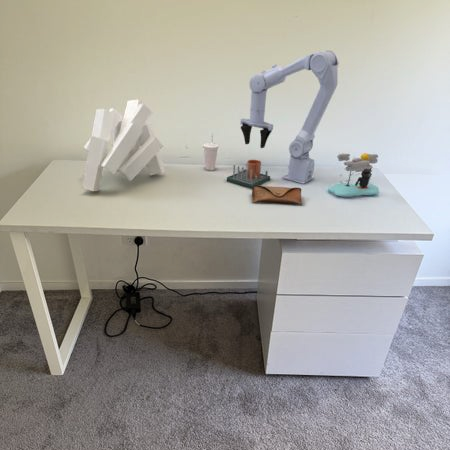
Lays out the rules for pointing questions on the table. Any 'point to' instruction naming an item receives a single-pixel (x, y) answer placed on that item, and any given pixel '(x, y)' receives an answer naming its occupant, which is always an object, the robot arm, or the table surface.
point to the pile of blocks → (122, 145)
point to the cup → (254, 168)
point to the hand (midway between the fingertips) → (254, 145)
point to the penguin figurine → (363, 182)
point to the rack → (242, 178)
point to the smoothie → (210, 154)
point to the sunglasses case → (276, 195)
